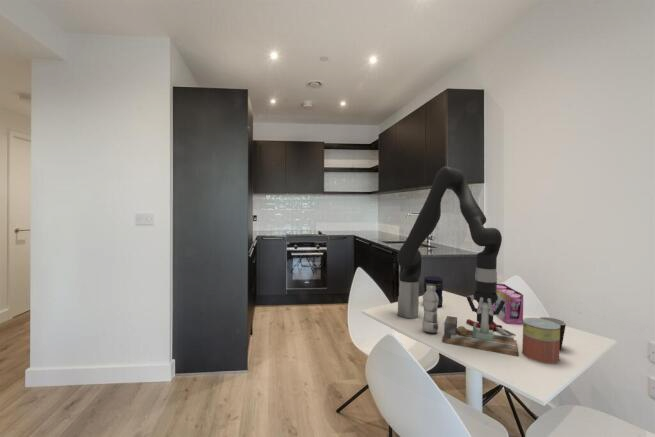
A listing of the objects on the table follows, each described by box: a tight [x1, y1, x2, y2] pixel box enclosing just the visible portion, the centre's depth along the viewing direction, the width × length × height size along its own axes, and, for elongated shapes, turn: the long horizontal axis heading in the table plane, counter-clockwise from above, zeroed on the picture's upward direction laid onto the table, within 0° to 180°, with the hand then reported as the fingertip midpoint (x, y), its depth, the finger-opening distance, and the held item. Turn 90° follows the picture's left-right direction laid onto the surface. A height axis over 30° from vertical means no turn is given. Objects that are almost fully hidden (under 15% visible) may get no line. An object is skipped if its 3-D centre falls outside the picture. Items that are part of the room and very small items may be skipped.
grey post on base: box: [472, 302, 494, 341], centre depth 127 cm, size 7×7×15 cm
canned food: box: [521, 317, 561, 365], centre depth 117 cm, size 11×11×12 cm
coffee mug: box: [539, 316, 567, 351], centre depth 127 cm, size 12×9×10 cm
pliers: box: [465, 318, 517, 337], centre depth 143 cm, size 12×20×3 cm, turn 22°
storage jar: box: [423, 275, 444, 309], centre depth 177 cm, size 10×10×15 cm
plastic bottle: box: [421, 284, 439, 334], centre depth 139 cm, size 6×7×20 cm
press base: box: [441, 315, 519, 357], centre depth 128 cm, size 26×12×8 cm, turn 63°
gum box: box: [492, 283, 524, 325], centre depth 160 cm, size 24×8×14 cm, turn 172°
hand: (484, 323), depth 127 cm, fingers closed on grey post on base, 3 cm apart
